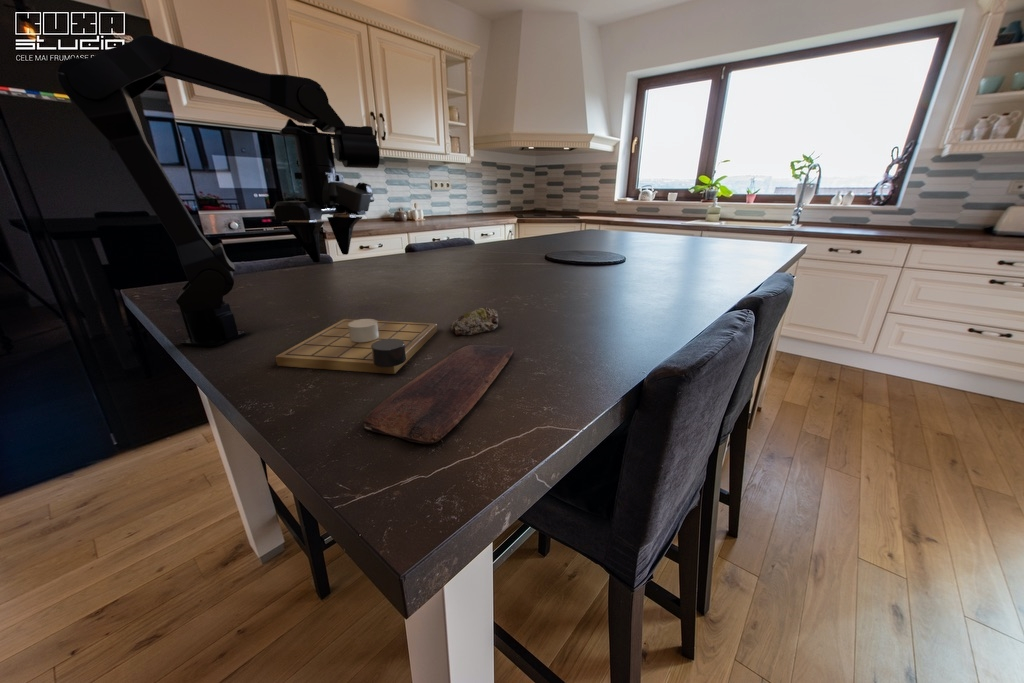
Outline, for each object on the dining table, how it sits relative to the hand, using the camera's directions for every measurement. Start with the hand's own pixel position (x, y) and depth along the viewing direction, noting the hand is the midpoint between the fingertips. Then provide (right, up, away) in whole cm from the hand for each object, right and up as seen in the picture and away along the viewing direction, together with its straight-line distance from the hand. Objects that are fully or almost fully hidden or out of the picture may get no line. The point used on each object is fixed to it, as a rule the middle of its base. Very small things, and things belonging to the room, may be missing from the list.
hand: (332, 258), depth 73 cm
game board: (+10, -16, -9) cm, 21 cm away
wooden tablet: (+26, -21, -22) cm, 40 cm away
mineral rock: (+27, -13, 0) cm, 30 cm away
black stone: (+17, -18, -19) cm, 31 cm away
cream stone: (+10, -15, -10) cm, 21 cm away
